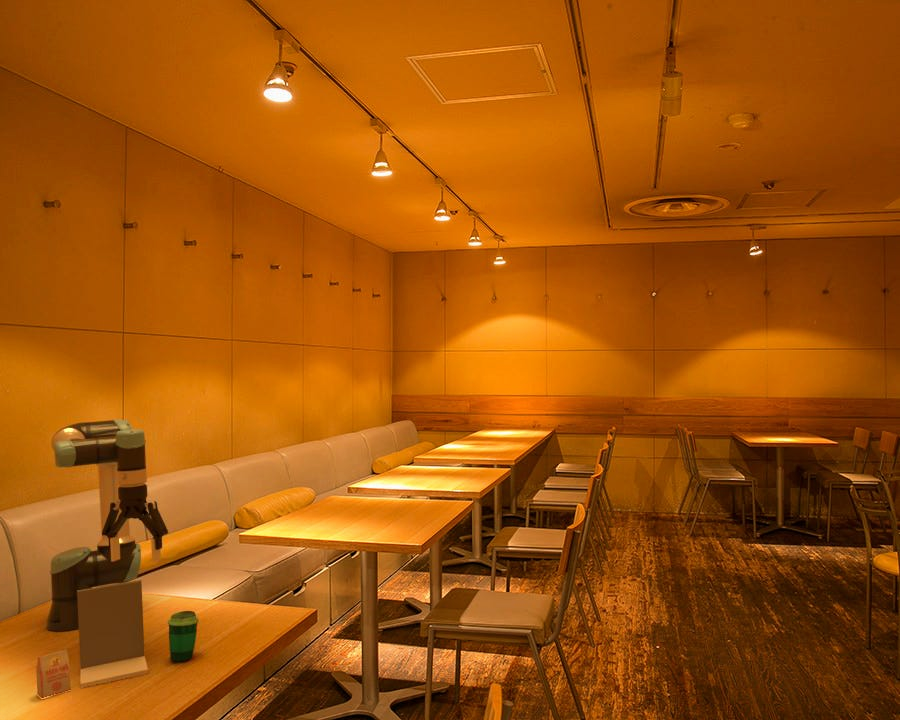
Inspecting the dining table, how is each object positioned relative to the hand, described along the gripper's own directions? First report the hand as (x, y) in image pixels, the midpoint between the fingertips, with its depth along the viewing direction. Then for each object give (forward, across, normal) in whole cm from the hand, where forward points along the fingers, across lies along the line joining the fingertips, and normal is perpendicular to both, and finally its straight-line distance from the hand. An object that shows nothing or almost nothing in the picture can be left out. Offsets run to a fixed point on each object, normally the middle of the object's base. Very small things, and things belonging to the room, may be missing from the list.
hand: (136, 560), depth 204 cm
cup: (+28, +12, +4) cm, 30 cm away
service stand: (+28, -1, -9) cm, 29 cm away
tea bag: (+28, -8, -22) cm, 37 cm away
